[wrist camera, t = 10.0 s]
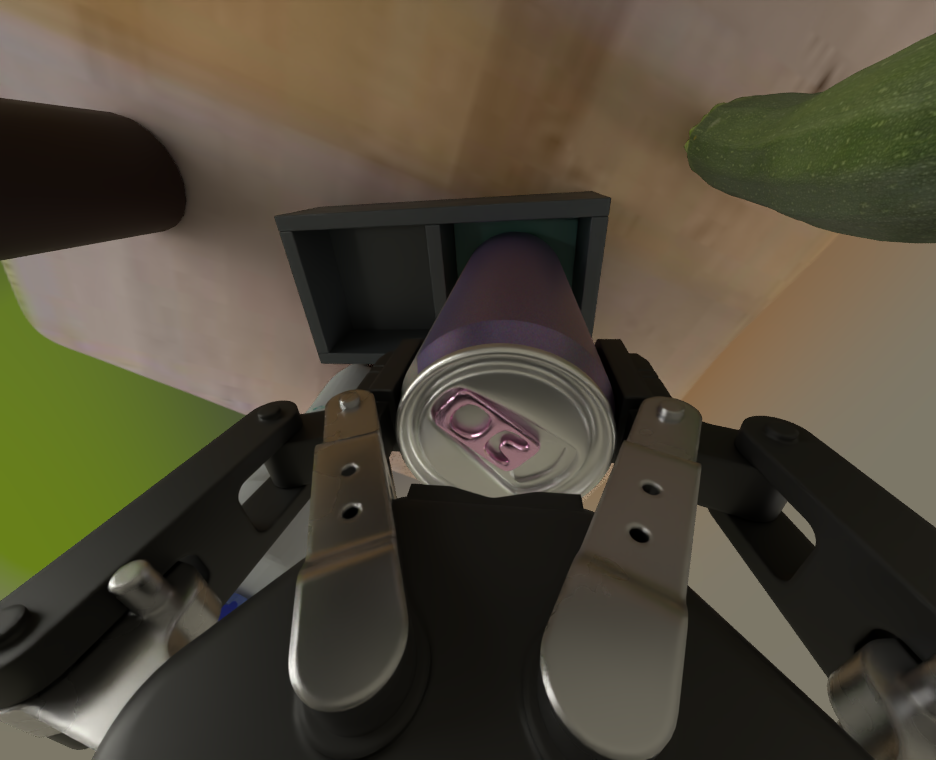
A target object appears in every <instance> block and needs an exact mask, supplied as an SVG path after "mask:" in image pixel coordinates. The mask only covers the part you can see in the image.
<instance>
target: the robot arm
mask: <svg viewBox="0 0 936 760" xmlns="http://www.w3.org/2000/svg"><path fill="white" fill-rule="evenodd" d="M423 342H424V339H402V341H401V342H400V344H399V345H398V346H397V348H396V349H395V351H389V352H388V353H386V354H384V355H383V356H381V357H380V358H379V359H378V360H377V361H376V363H375V364H374V367H372V368H371V369H370V371H369V373H367V375H366V376H365V378H364V379H363V380H362V382H361V383H360V384H359V386H358V387H357V388H356V389H354V390H348V391H345V392H342V393H339V394H337V395H335V396H334V397H332V398H331V399H330V400H329V401H328V402H327V404H326V406H325V410H323V411H317V412H311V413H305V414H300V413H299V411H298V408H297V406H296V404H295V403H293V402H291V401H275V402H271V403H268V404H265V405H262V406H260V407H258V408H256V409H255V410H253V411H252V412H250V413H249V414H248V415H246V416H245V417H244V418H242V419H241V420H240V421H238V422H237V423H236V424H234V425H233V426H232V427H230V428H229V429H228V430H227V431H225V432H224V433H222V434H221V435H220V436H219V437H217V438H216V439H214V440H213V441H212V442H211V443H209V444H208V445H206V446H205V447H204V448H203V449H201V450H200V451H199V452H197V453H196V454H195V455H193V456H192V457H191V458H189V459H188V460H187V461H185V462H184V463H183V464H181V465H180V466H179V467H177V468H176V469H175V470H173V471H172V472H171V473H169V474H168V475H167V476H165V477H164V478H163V479H161V480H160V481H159V482H158V483H156V484H155V485H154V486H152V487H151V488H150V489H148V490H147V491H146V492H144V493H143V494H142V495H141V496H139V497H138V498H136V499H135V500H134V501H132V502H131V503H130V504H128V505H127V506H126V507H124V508H123V509H122V510H121V511H119V512H118V513H116V514H115V515H114V516H112V517H111V518H110V519H108V521H106V522H105V523H103V524H102V525H101V526H99V527H98V528H97V529H95V530H94V531H93V532H91V533H90V534H89V535H87V536H86V537H85V538H84V539H82V540H81V541H79V542H78V543H77V544H75V545H74V546H73V547H71V548H70V549H69V550H67V551H66V552H65V553H63V554H62V555H61V556H59V557H58V558H57V559H56V560H54V561H53V562H52V563H50V564H49V565H48V566H46V567H45V568H44V569H42V570H41V571H40V572H38V573H37V574H36V575H35V576H33V577H32V578H30V579H29V580H28V581H26V582H25V583H24V584H22V585H21V586H20V587H18V588H17V589H16V590H14V591H13V592H12V593H11V594H9V595H8V596H6V597H5V598H4V599H3V600H1V601H0V721H1V722H4V723H6V724H8V725H10V726H12V727H15V728H17V729H19V730H22V731H24V732H26V733H28V734H31V735H33V736H35V737H47V738H50V739H52V740H54V741H56V742H59V743H61V744H63V745H65V746H67V747H69V748H72V749H76V750H81V749H86V748H92V749H94V750H95V751H96V752H95V754H94V756H93V758H92V760H936V528H935V527H934V526H933V525H931V524H930V523H929V522H927V521H926V520H925V519H923V518H922V517H921V516H919V515H918V514H917V513H915V512H914V511H913V510H912V509H910V508H909V507H908V506H906V505H905V504H904V503H902V502H901V501H899V500H898V499H897V498H896V497H894V496H893V495H892V494H890V493H889V492H888V491H886V490H885V489H884V488H883V487H881V486H880V485H879V484H877V483H876V482H874V481H873V480H872V479H871V478H869V477H868V476H867V475H865V474H864V473H863V472H861V471H860V470H859V469H857V468H856V467H855V466H854V465H852V464H851V463H850V462H848V461H847V460H846V459H844V458H843V457H842V456H840V455H839V454H838V453H836V452H835V451H834V450H832V449H831V448H830V447H828V446H827V445H826V444H825V443H823V442H822V441H820V440H819V439H818V438H816V437H815V436H814V435H813V434H811V433H810V432H808V431H807V430H806V429H804V428H802V427H800V426H798V425H796V424H794V423H791V422H788V421H786V420H782V419H779V418H775V417H769V416H752V417H749V418H747V419H745V420H744V421H743V423H742V425H741V428H740V430H736V429H731V428H726V427H722V426H716V425H712V424H708V423H705V422H702V416H701V414H700V412H699V411H698V410H697V409H696V408H695V407H693V406H692V405H690V404H688V403H686V402H684V401H681V400H679V399H675V398H672V397H671V395H670V394H669V392H668V391H667V389H666V388H665V386H664V385H663V383H662V382H661V380H660V379H658V375H657V374H656V372H655V371H654V369H653V368H652V366H651V365H650V363H649V362H648V361H647V360H646V359H644V358H643V357H641V356H640V355H638V354H637V353H628V351H627V349H626V348H625V346H624V344H623V342H622V341H621V340H620V339H597V340H596V343H595V347H596V350H597V352H598V355H599V357H600V359H601V362H602V364H603V367H604V369H605V372H606V374H607V376H608V379H609V381H610V384H611V387H612V390H613V394H614V399H615V422H616V429H617V443H616V450H615V454H614V457H613V460H612V463H614V466H613V468H612V471H611V473H610V476H609V478H608V481H607V483H606V486H605V488H604V491H603V493H602V496H601V498H600V501H599V504H598V506H597V508H596V511H595V512H593V511H590V510H587V509H583V504H582V498H581V494H567V493H552V492H531V493H524V494H517V495H510V496H503V497H496V498H492V497H487V496H483V495H480V494H476V493H473V492H470V491H466V490H463V489H459V488H456V487H452V486H442V485H426V484H411V486H410V489H409V492H408V495H407V497H401V498H397V496H396V491H395V486H394V481H393V475H392V470H391V464H390V460H389V456H390V454H391V452H392V451H400V450H399V447H398V444H397V440H396V433H395V421H396V414H397V410H398V406H399V403H400V394H401V388H402V384H403V381H404V378H405V375H406V373H407V371H408V369H409V367H410V365H411V364H412V362H413V360H414V358H415V356H416V355H417V353H418V351H419V349H420V347H421V345H422V344H423ZM263 464H264V465H265V467H266V469H267V471H268V473H269V475H270V477H269V478H268V479H267V480H266V481H265V482H264V483H263V484H262V485H261V486H260V487H259V488H258V489H257V490H256V491H255V492H254V493H253V494H252V495H251V496H250V497H249V498H248V499H247V500H246V501H245V502H244V503H243V504H242V505H241V504H240V502H239V491H240V488H241V487H242V485H243V483H244V482H245V481H246V480H247V479H248V478H249V477H250V476H251V475H252V474H253V473H255V472H256V471H257V470H258V469H259V468H260V467H261V466H262V465H263ZM310 498H311V499H310ZM309 499H310V511H309V524H308V536H307V548H306V557H305V558H303V559H302V560H300V561H299V562H298V563H296V564H295V565H294V566H292V567H291V568H290V569H288V570H287V571H286V572H284V573H283V574H282V575H280V576H279V577H278V578H276V579H275V580H273V581H272V582H271V583H269V584H268V585H267V586H265V587H264V588H263V589H261V590H260V591H259V592H257V593H256V594H255V595H253V596H252V597H251V598H249V599H248V600H246V601H245V602H244V603H242V604H241V605H240V606H238V607H237V608H236V609H234V610H233V611H232V612H230V613H229V614H228V615H226V616H225V617H224V618H222V619H221V620H219V621H218V619H219V617H220V613H221V608H222V607H223V606H224V605H225V603H226V602H227V601H228V600H229V598H230V597H231V596H232V595H233V593H234V592H235V591H236V590H237V588H238V587H239V586H240V585H241V583H242V582H243V581H244V580H245V578H246V577H247V576H248V575H249V574H250V572H251V571H252V570H253V569H254V567H255V566H256V565H257V564H258V562H259V561H260V560H261V559H262V557H263V556H264V555H265V554H266V552H267V551H268V550H269V549H270V548H271V546H272V545H273V544H274V543H275V541H276V540H277V539H278V538H279V536H280V535H281V534H282V533H283V531H284V530H285V529H286V528H287V526H288V525H289V524H290V523H291V521H292V520H293V519H294V518H295V517H296V515H297V514H298V513H299V512H300V510H301V509H302V508H303V507H304V505H305V504H306V503H307V502H308V500H309ZM787 501H788V502H789V503H790V504H791V505H792V506H793V507H794V508H795V509H796V510H797V511H798V512H799V513H800V514H801V515H802V516H803V517H804V518H805V519H806V520H807V521H808V523H809V524H810V525H811V527H812V529H813V531H814V533H815V537H816V546H814V545H813V544H812V543H811V542H810V541H809V540H808V539H807V538H806V537H805V535H804V534H803V533H802V532H801V531H800V530H799V529H798V528H797V527H796V526H795V525H794V524H793V522H792V521H791V520H790V519H789V518H788V517H787V516H786V515H785V514H784V513H783V512H782V509H783V507H784V506H785V504H786V503H787ZM697 505H700V506H703V507H707V508H708V510H709V512H710V514H711V515H712V517H713V518H714V519H715V521H716V522H717V524H718V525H719V526H720V528H721V529H722V531H723V532H724V533H725V535H726V536H727V537H728V539H729V540H730V542H731V543H732V544H733V546H734V547H735V549H736V550H737V552H738V553H739V554H740V556H741V557H742V558H743V560H744V561H745V563H746V564H747V565H748V567H749V568H750V570H751V571H752V572H753V574H754V575H755V577H756V578H757V579H758V581H759V582H760V584H761V585H762V586H763V588H764V589H765V591H766V592H767V593H768V595H769V596H770V597H771V599H772V600H773V602H774V603H775V604H776V606H777V607H778V609H779V610H780V612H781V613H782V614H783V616H784V617H785V619H786V620H787V621H788V622H789V624H790V625H791V627H792V628H793V629H794V631H795V632H796V634H797V635H798V636H799V638H800V639H801V641H802V642H803V644H804V645H805V646H806V648H807V649H808V651H809V652H810V653H811V655H812V656H813V658H814V659H815V660H816V662H817V663H818V665H819V666H820V667H821V668H822V670H823V672H824V673H825V674H826V675H827V677H828V684H827V690H828V696H829V700H830V703H831V705H832V708H833V710H834V712H835V714H836V716H837V717H838V719H839V720H838V721H837V723H836V722H835V721H834V720H833V719H832V718H831V717H829V716H828V715H827V714H826V713H825V712H824V711H823V710H822V709H821V708H820V707H819V706H818V705H816V704H815V703H814V702H813V701H812V700H811V699H810V698H809V697H808V696H807V695H806V694H805V693H804V692H803V691H801V690H800V689H799V688H798V687H797V686H796V685H795V684H794V683H793V682H791V680H789V679H788V678H787V677H786V676H785V675H784V674H783V673H782V672H781V671H780V670H779V669H777V667H775V666H774V665H773V664H772V663H771V662H770V661H769V660H768V659H767V658H766V657H765V656H764V655H762V654H761V653H760V652H759V651H758V650H757V649H756V648H755V647H754V646H753V645H752V644H751V643H749V642H748V641H747V640H746V639H745V638H744V637H743V636H742V635H741V634H740V633H739V632H738V631H737V630H735V629H734V628H733V627H732V626H731V625H730V624H729V623H728V622H727V621H726V620H725V619H724V618H722V617H721V616H720V615H719V614H718V613H717V612H716V611H715V610H714V609H713V608H712V607H711V606H710V605H708V604H707V603H706V602H705V601H704V600H703V599H702V598H701V597H700V596H699V595H698V594H697V593H695V592H694V591H693V590H692V589H691V588H690V587H689V586H688V577H689V568H690V560H691V551H692V543H693V534H694V525H695V517H696V509H697Z"/></svg>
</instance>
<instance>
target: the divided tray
mask: <svg viewBox="0 0 936 760" xmlns="http://www.w3.org/2000/svg"><path fill="white" fill-rule="evenodd" d="M610 203H611V198H610V197H607V196H604V195H601V194H599V193H596V192H593V191H586V192H569V193H551V194H534V195H517V196H499V197H482V198H465V199H448V200H430V201H413V202H396V203H379V204H361V205H344V206H327V207H317V208H312V209H307V210H302V211H297V212H292V213H287V214H282V215H277V216H274V218H275V221H276V224H277V227H278V230H279V231H280V236H281V239H282V242H283V245H284V249H285V252H286V255H287V258H288V261H289V264H290V267H291V270H292V274H293V277H294V280H295V283H296V286H297V289H298V292H299V295H300V299H301V302H302V305H303V308H304V311H305V314H306V317H307V320H308V324H309V327H310V330H311V333H312V336H313V339H314V342H315V345H316V349H317V352H318V355H319V358H320V361H321V363H325V364H375V363H376V361H377V360H378V359H379V358H380V357H381V356H383V355H384V354H386V353H388V352H389V351H395V349H396V348H397V346H398V345H399V344H400V342H401V341H402V339H424V340H425V338H426V336H427V335H428V333H429V331H430V329H431V327H432V326H433V324H434V322H435V320H436V318H437V317H438V315H439V313H440V311H441V309H442V308H443V306H444V304H445V302H446V300H447V299H448V297H449V295H450V293H451V291H452V289H453V288H454V286H455V284H456V282H457V280H458V279H459V277H460V275H461V273H462V271H463V270H464V268H465V266H466V264H467V262H468V261H469V259H470V257H471V255H472V254H473V253H474V251H475V250H476V249H477V248H478V247H479V246H480V245H481V244H482V243H483V242H485V241H486V240H488V239H489V238H491V237H493V236H496V235H498V234H501V233H506V232H524V233H528V234H531V235H534V236H536V237H538V238H540V239H542V240H543V241H544V242H546V243H547V244H548V245H549V246H550V247H551V248H552V249H553V251H554V252H555V253H556V255H557V257H558V259H559V261H560V263H561V266H562V268H563V270H564V273H565V275H566V278H567V280H568V282H569V285H570V287H571V290H572V292H573V294H574V297H575V299H576V302H577V304H578V306H579V309H580V311H581V314H582V316H583V319H584V321H585V323H586V326H587V328H588V331H589V333H590V335H591V338H592V333H593V326H594V318H595V311H596V304H597V297H598V290H599V282H600V275H601V268H602V261H603V254H604V247H605V239H606V232H607V225H608V218H609V217H608V215H609V210H610Z"/></svg>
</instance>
